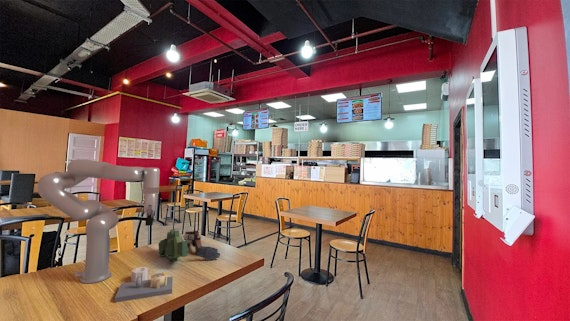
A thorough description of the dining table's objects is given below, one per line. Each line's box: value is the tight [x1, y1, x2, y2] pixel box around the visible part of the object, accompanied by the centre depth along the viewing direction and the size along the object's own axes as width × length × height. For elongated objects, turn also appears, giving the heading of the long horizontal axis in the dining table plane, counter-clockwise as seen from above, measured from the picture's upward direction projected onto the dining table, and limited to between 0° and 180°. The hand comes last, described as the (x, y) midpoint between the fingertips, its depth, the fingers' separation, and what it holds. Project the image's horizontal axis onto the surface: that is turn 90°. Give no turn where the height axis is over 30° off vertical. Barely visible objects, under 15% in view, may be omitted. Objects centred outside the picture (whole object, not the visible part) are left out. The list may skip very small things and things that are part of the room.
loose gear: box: [130, 266, 150, 282], centre depth 122 cm, size 7×7×5 cm
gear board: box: [114, 271, 174, 303], centre depth 112 cm, size 22×13×8 cm, turn 115°
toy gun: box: [182, 229, 203, 255], centre depth 168 cm, size 5×28×15 cm, turn 39°
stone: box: [195, 245, 221, 262], centre depth 149 cm, size 14×6×10 cm, turn 130°
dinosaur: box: [158, 228, 189, 263], centre depth 148 cm, size 35×12×19 cm, turn 42°
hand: (149, 223), depth 128 cm, fingers open, 9 cm apart
